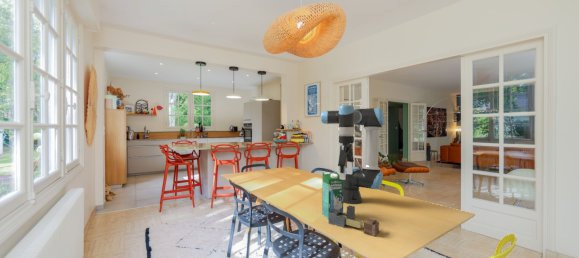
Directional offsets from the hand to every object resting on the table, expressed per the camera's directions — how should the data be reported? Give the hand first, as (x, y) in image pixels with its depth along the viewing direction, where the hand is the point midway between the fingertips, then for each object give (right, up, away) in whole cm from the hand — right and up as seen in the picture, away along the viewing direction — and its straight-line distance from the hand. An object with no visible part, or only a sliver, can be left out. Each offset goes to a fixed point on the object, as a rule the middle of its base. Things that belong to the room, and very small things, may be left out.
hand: (346, 176), depth 122 cm
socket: (+11, -27, -6) cm, 29 cm away
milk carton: (-4, -26, +16) cm, 31 cm away
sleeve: (-3, -26, +5) cm, 27 cm away
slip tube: (0, -25, +3) cm, 25 cm away
